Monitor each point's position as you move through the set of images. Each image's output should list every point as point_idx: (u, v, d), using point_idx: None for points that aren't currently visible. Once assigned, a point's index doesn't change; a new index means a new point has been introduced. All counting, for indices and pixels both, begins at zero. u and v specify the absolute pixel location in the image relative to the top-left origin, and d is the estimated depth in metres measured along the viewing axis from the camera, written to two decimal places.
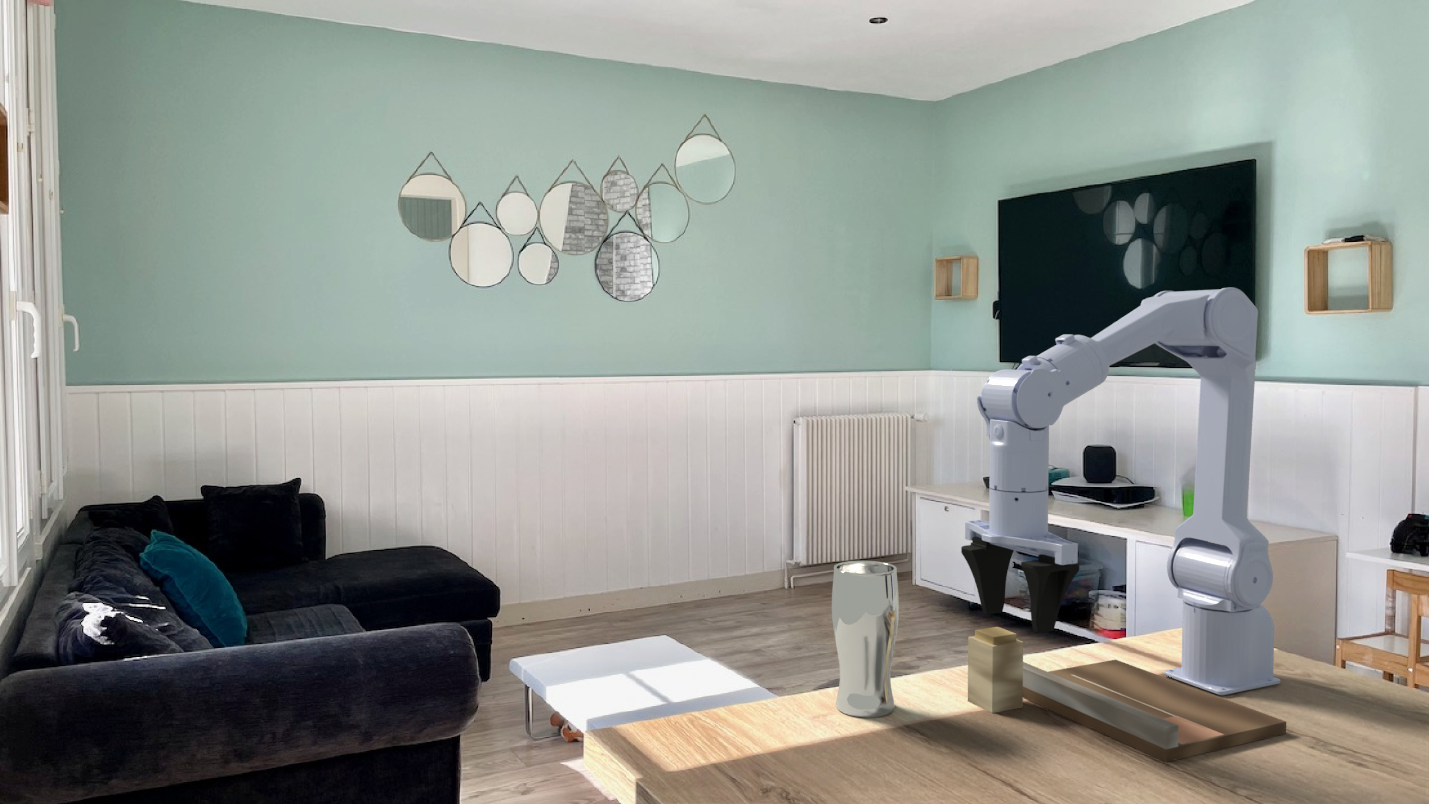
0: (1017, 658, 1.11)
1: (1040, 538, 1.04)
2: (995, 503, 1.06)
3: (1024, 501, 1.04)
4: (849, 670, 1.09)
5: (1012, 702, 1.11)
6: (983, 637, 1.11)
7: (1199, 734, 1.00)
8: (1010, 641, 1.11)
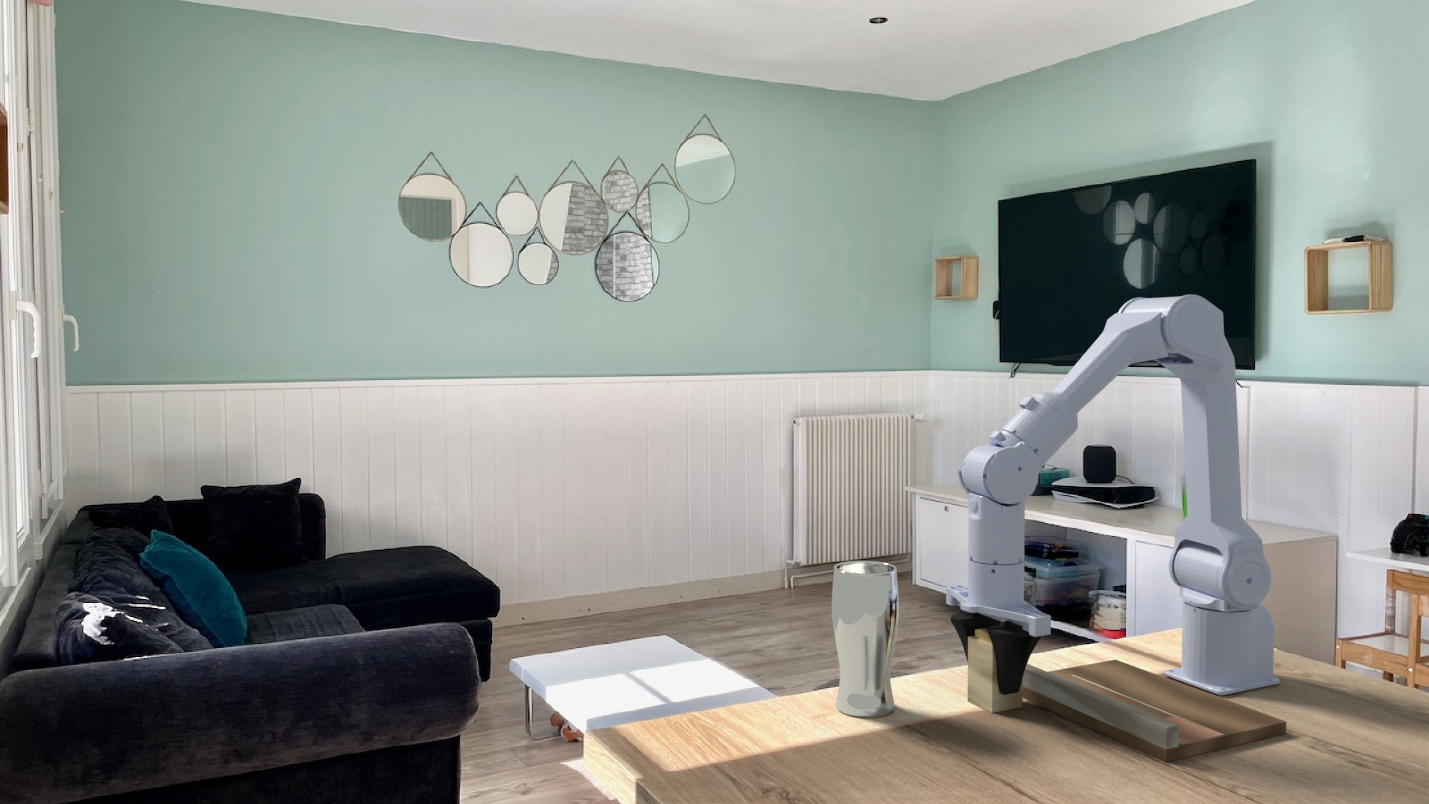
0: None
1: (1016, 608, 1.09)
2: (973, 574, 1.10)
3: (1000, 573, 1.09)
4: (849, 670, 1.09)
5: (1012, 701, 1.11)
6: (983, 637, 1.11)
7: (1199, 734, 1.00)
8: None
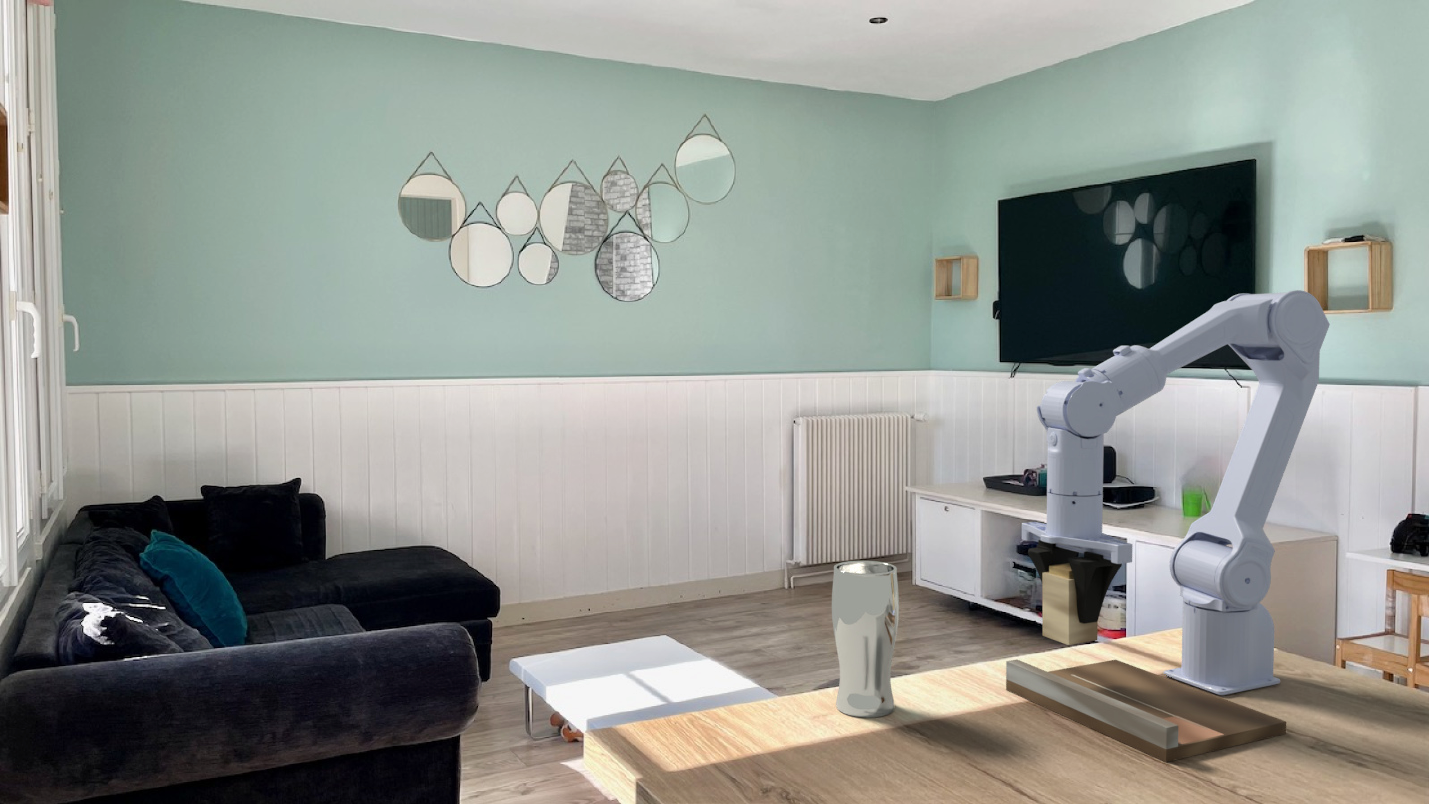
0: None
1: (1096, 539, 1.11)
2: (1053, 506, 1.13)
3: (1081, 504, 1.11)
4: (849, 670, 1.09)
5: (1088, 634, 1.13)
6: (1058, 572, 1.14)
7: (1199, 734, 1.00)
8: None
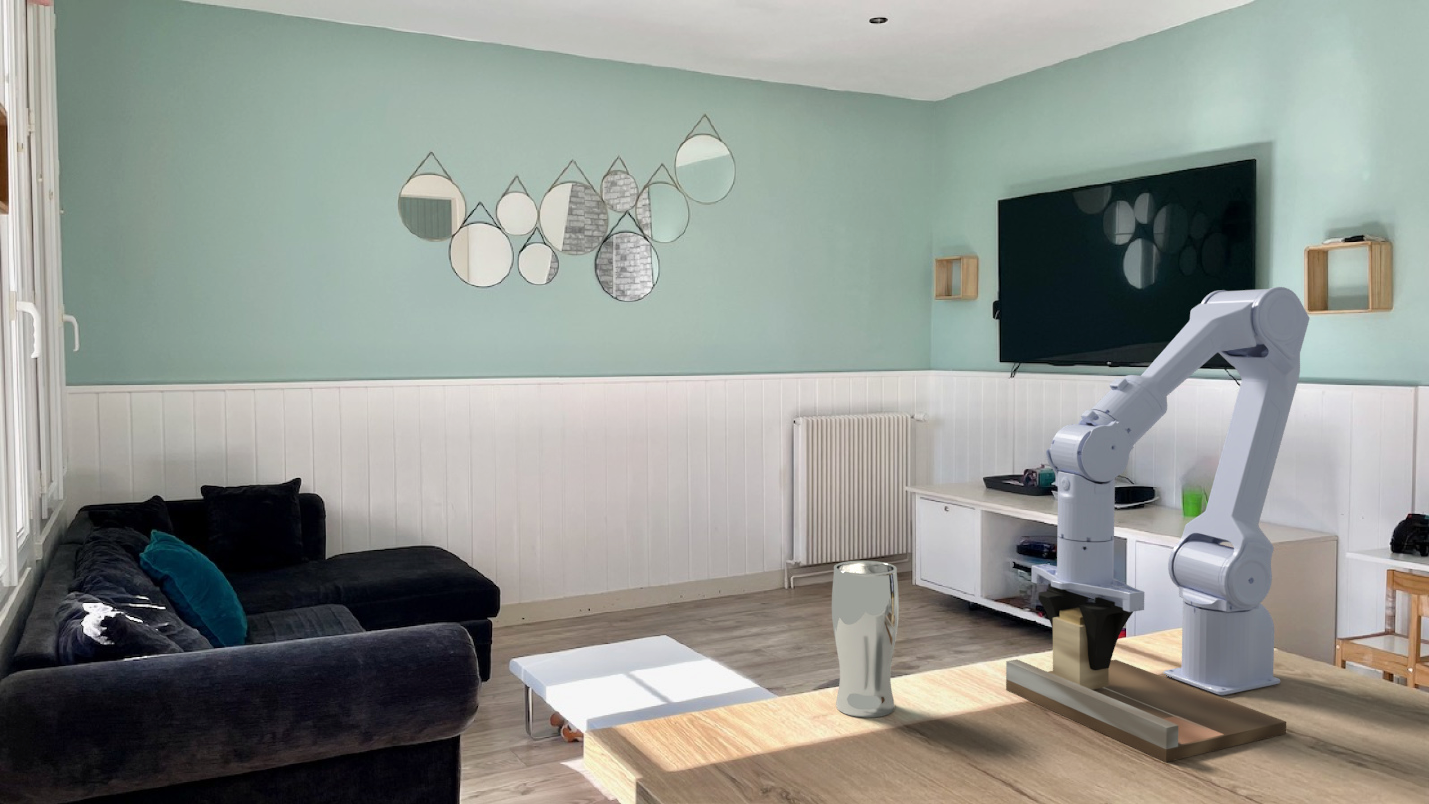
0: None
1: (1107, 585, 1.10)
2: (1064, 551, 1.12)
3: (1092, 550, 1.10)
4: (849, 670, 1.09)
5: (1099, 681, 1.12)
6: (1068, 617, 1.13)
7: (1199, 734, 1.00)
8: None
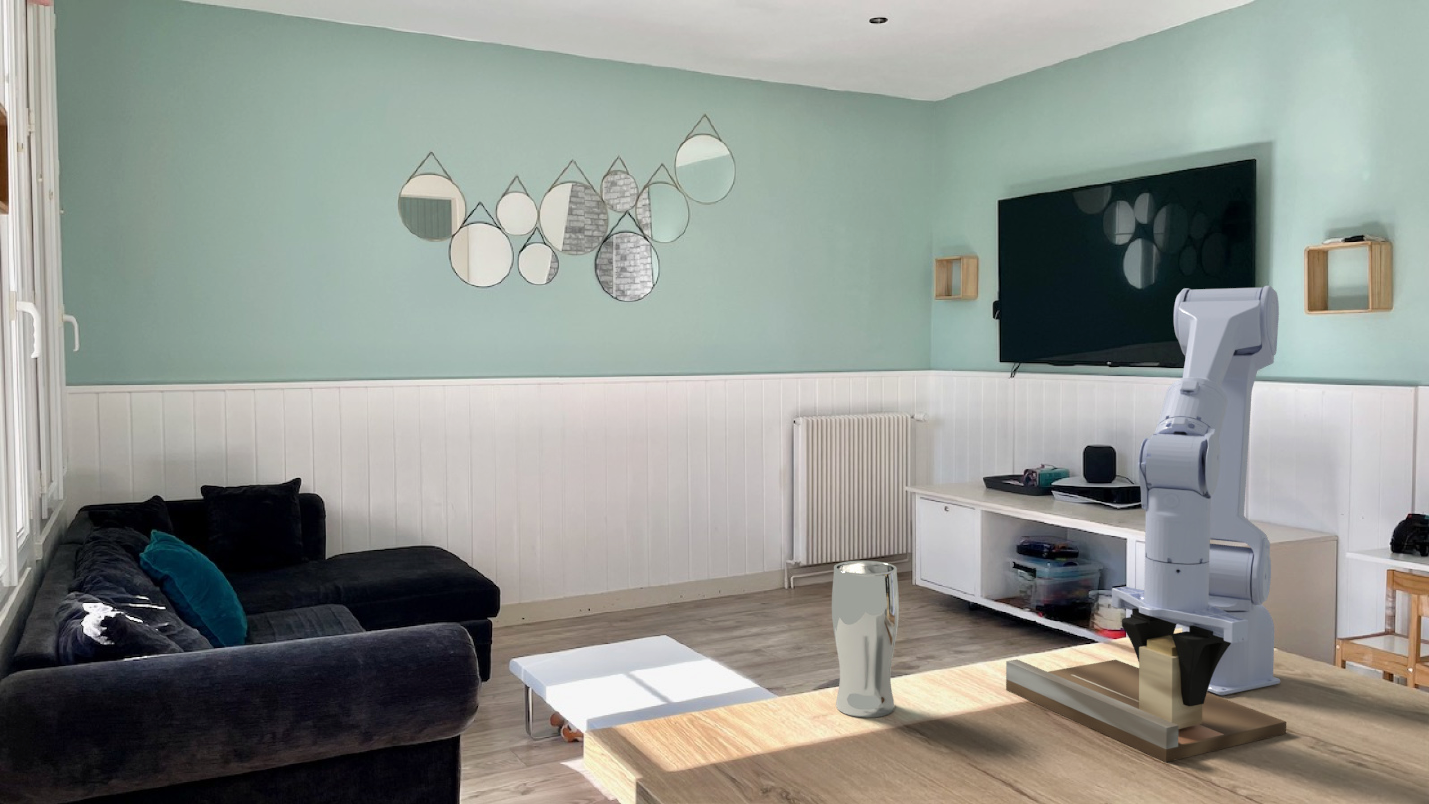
0: None
1: (1203, 612, 0.99)
2: (1153, 574, 1.01)
3: (1187, 573, 0.99)
4: (849, 670, 1.09)
5: (1192, 718, 1.01)
6: (1158, 647, 1.02)
7: (1199, 734, 1.00)
8: None
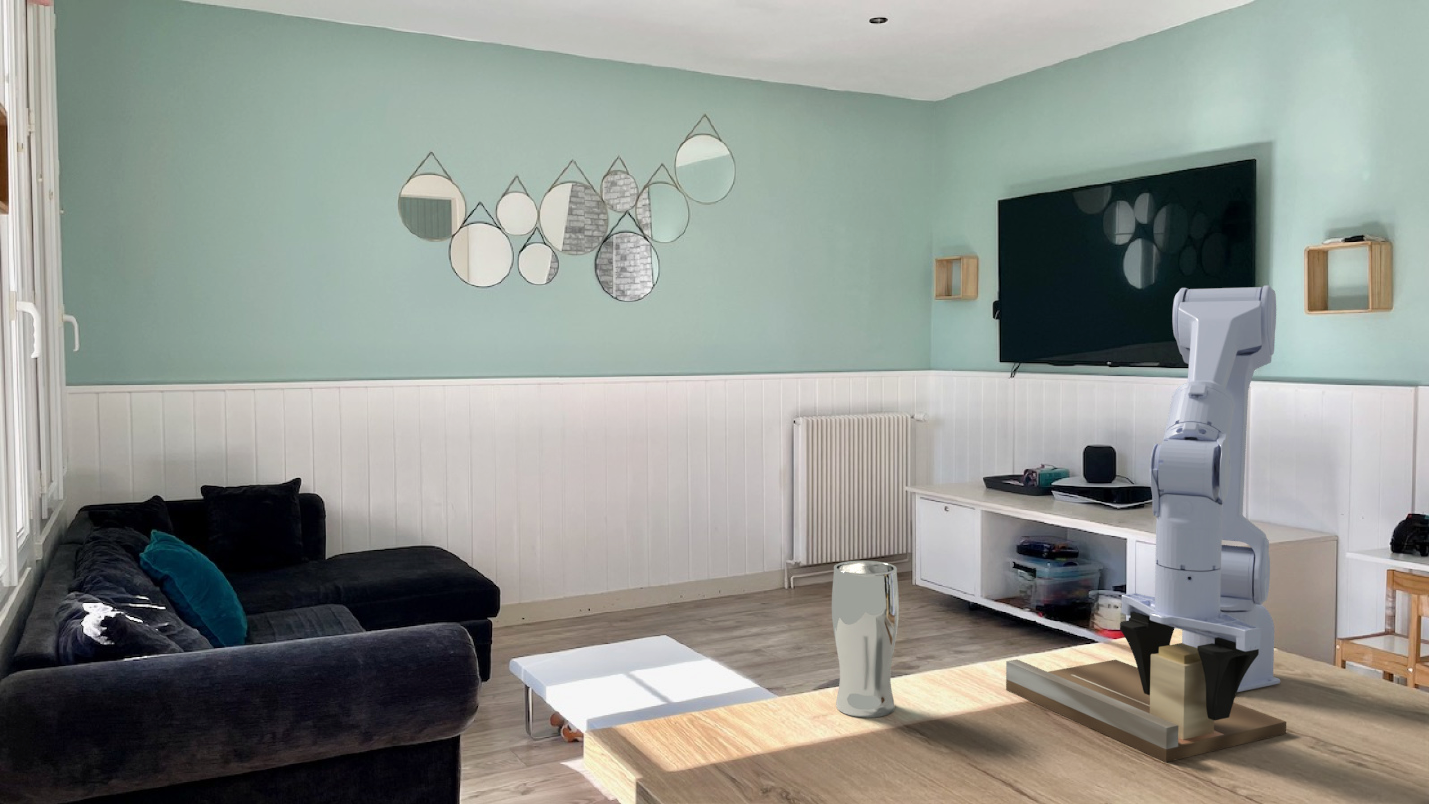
0: None
1: (1215, 620, 0.98)
2: (1164, 581, 1.00)
3: (1198, 580, 0.98)
4: (849, 670, 1.09)
5: (1203, 727, 1.00)
6: (1170, 655, 1.01)
7: None
8: None
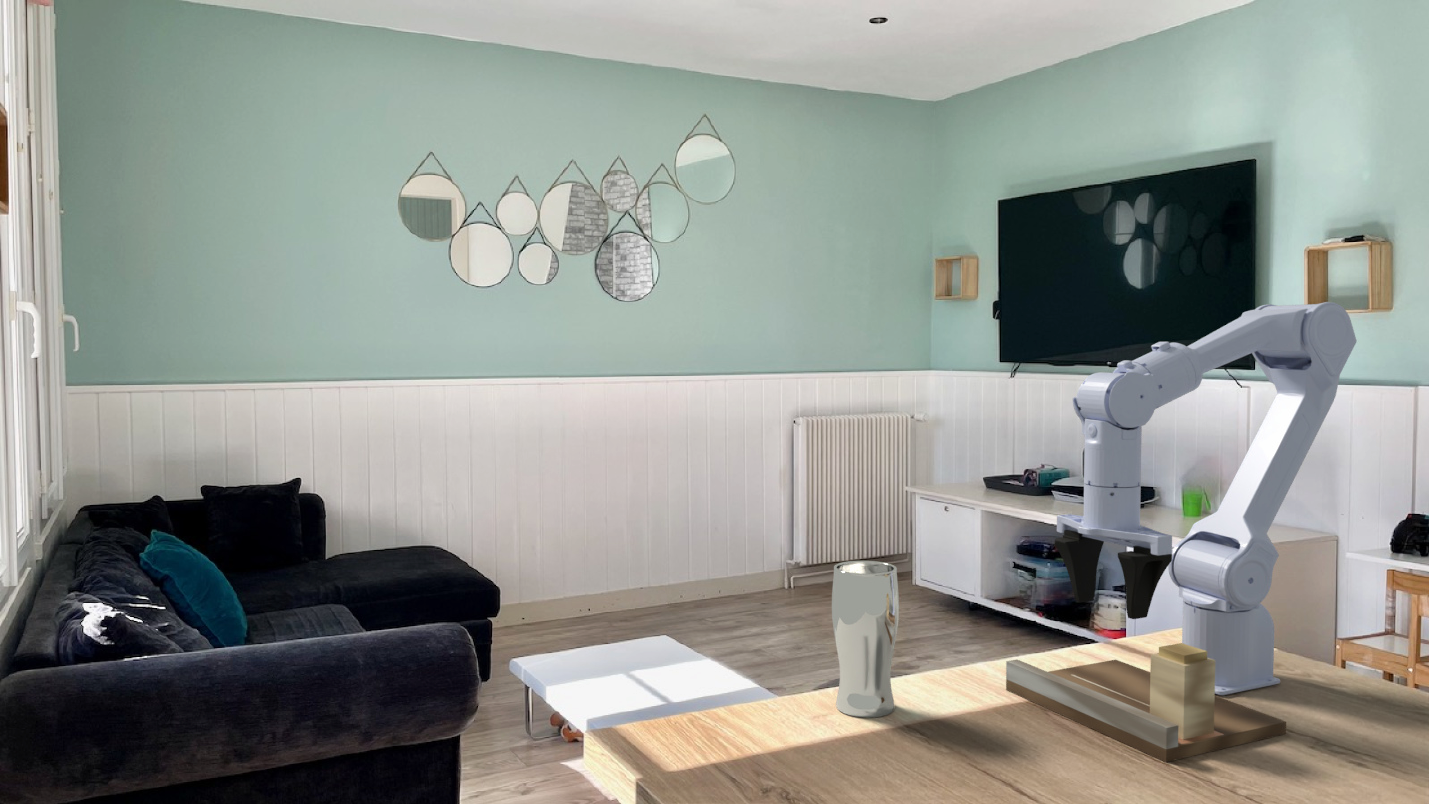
0: (1209, 678, 1.00)
1: (1134, 530, 1.11)
2: (1091, 498, 1.13)
3: (1119, 496, 1.11)
4: (849, 670, 1.09)
5: (1203, 727, 1.00)
6: (1170, 655, 1.01)
7: None
8: (1201, 660, 1.00)
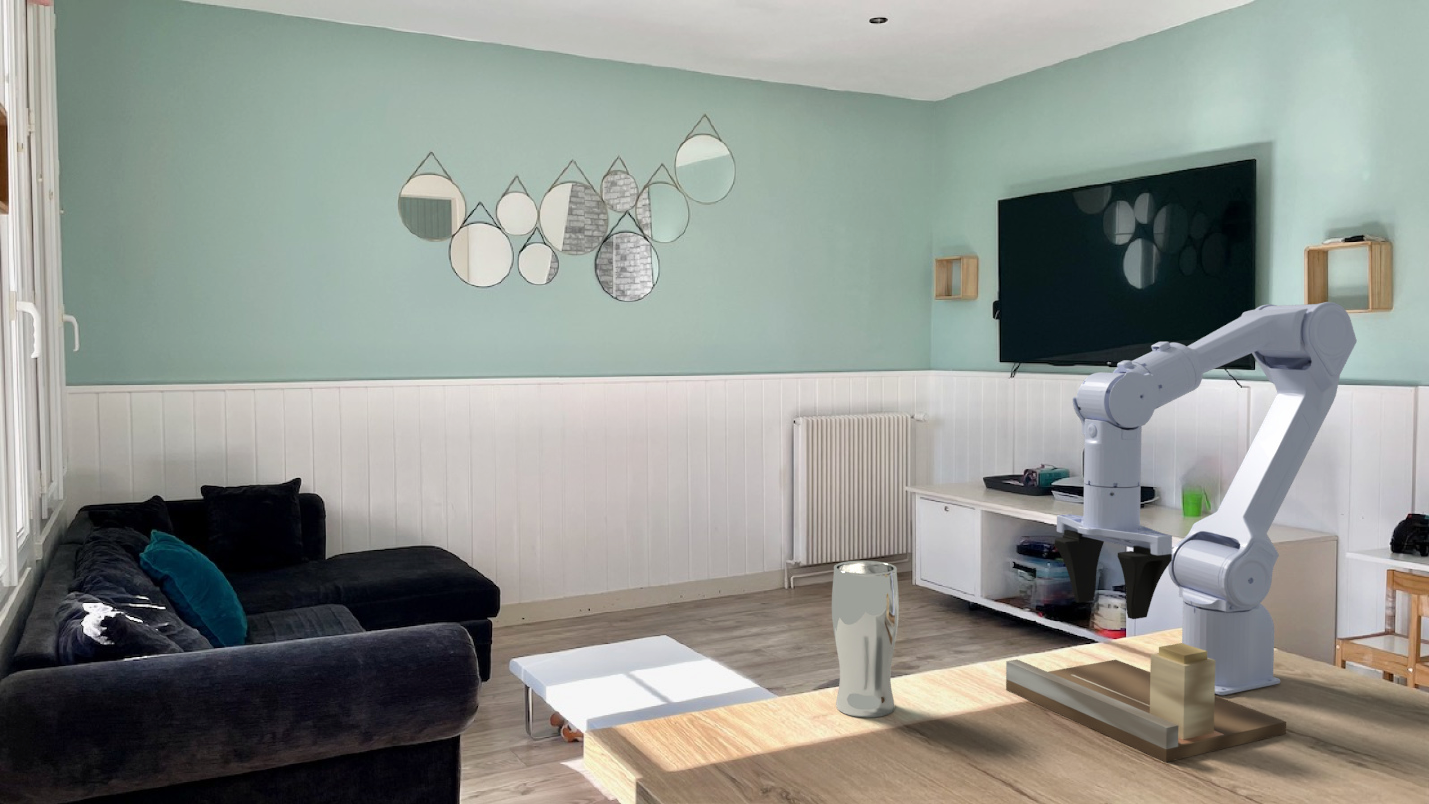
0: (1209, 678, 1.00)
1: (1134, 530, 1.11)
2: (1090, 498, 1.13)
3: (1119, 496, 1.11)
4: (849, 670, 1.09)
5: (1203, 727, 1.00)
6: (1170, 655, 1.01)
7: None
8: (1201, 660, 1.00)
